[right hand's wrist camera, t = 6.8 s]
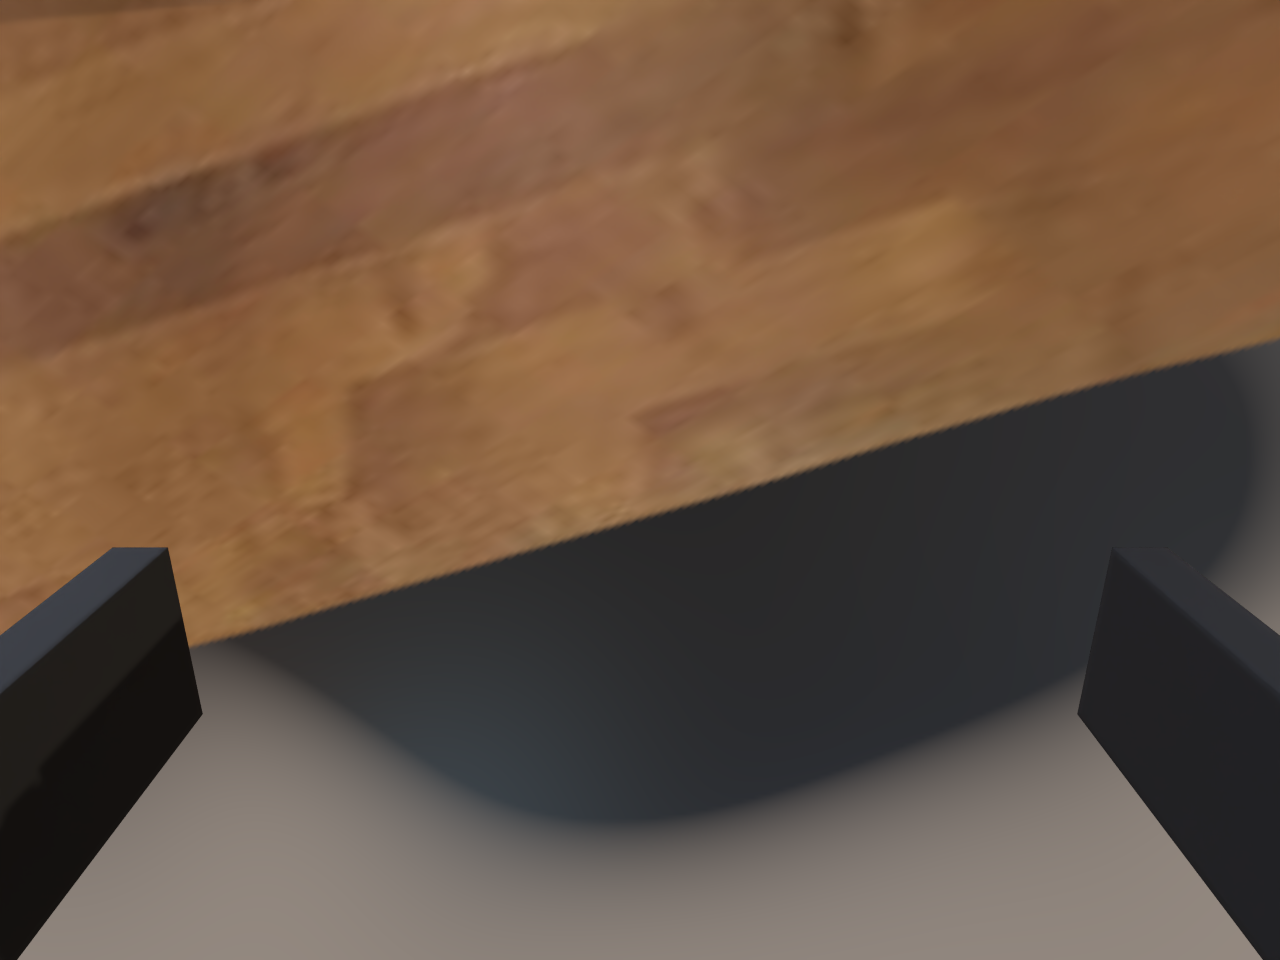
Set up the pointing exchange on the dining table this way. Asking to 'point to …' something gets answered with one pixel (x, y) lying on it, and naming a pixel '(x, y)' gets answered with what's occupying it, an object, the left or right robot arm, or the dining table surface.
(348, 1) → the dining table surface
